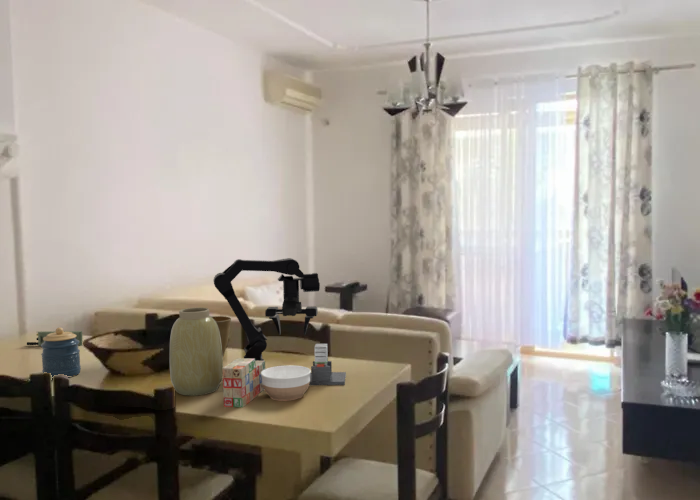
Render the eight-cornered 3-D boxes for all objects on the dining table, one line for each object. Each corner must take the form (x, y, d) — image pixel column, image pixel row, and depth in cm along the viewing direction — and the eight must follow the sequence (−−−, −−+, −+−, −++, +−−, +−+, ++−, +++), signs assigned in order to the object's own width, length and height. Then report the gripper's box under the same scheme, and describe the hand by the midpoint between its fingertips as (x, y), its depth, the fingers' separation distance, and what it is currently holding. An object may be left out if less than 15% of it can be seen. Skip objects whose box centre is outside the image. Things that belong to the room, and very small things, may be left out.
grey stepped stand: (297, 385, 219) (296, 365, 218) (301, 375, 231) (300, 356, 230) (344, 385, 218) (344, 364, 218) (345, 375, 230) (345, 355, 230)
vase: (179, 382, 225) (176, 306, 223) (228, 382, 225) (225, 305, 223) (163, 398, 208) (160, 314, 206) (217, 397, 208) (213, 314, 206)
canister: (80, 368, 248) (77, 323, 246) (82, 376, 236) (79, 328, 235) (42, 373, 242) (39, 326, 241) (42, 381, 231) (39, 332, 229)
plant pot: (239, 358, 259) (238, 318, 257) (205, 365, 249) (204, 324, 248) (221, 352, 270) (219, 314, 269) (187, 358, 260) (186, 319, 259)
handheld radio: (80, 346, 287) (25, 347, 288) (83, 345, 290) (29, 345, 292) (79, 331, 287) (24, 332, 288) (83, 330, 290) (28, 331, 291)
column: (315, 371, 220) (314, 347, 220) (316, 367, 225) (315, 343, 225) (327, 371, 220) (326, 347, 219) (328, 367, 225) (327, 343, 225)
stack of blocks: (249, 387, 219) (247, 351, 218) (266, 387, 218) (265, 351, 217) (223, 407, 198) (222, 367, 197) (242, 408, 197) (241, 368, 196)
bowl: (316, 400, 203) (316, 375, 202) (265, 405, 198) (264, 380, 198) (305, 386, 218) (304, 363, 217) (257, 391, 214) (257, 367, 213)
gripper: (262, 296, 230) (263, 339, 232) (314, 295, 230) (315, 339, 231) (267, 291, 242) (268, 333, 243) (317, 291, 241) (318, 332, 242)
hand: (292, 334), depth 239 cm, fingers open, 9 cm apart
